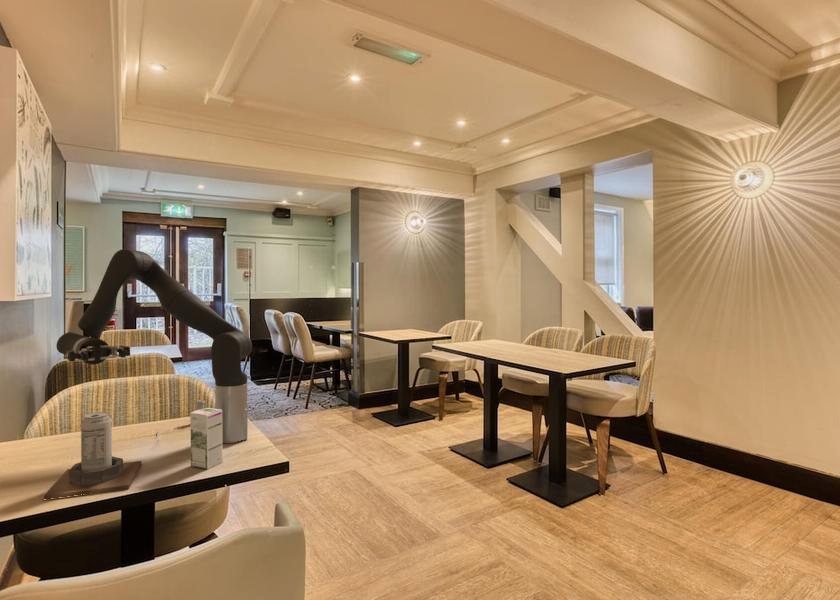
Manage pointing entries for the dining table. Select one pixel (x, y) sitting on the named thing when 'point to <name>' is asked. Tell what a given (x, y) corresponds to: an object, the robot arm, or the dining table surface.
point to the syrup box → (206, 438)
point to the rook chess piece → (200, 404)
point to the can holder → (95, 479)
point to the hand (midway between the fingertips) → (106, 355)
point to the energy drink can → (96, 441)
